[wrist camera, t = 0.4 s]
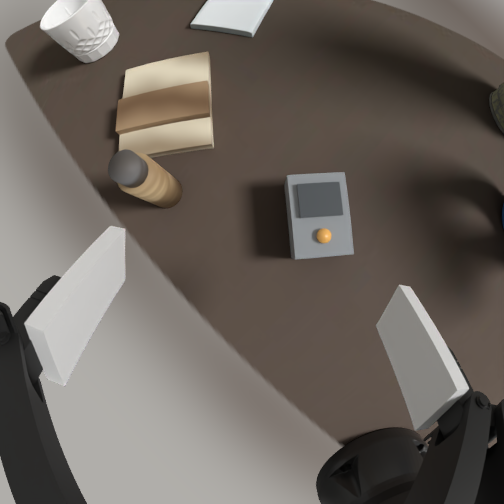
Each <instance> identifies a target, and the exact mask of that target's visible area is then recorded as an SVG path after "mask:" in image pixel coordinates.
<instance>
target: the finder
mask: <svg viewBox="0 0 504 504" xmlns="http://www.w3.org/2000/svg"><path fill="white" fill-rule="evenodd" d="M284 188H285V197H286V207H287V217H288V228H289V239H290V250H291V259H306V258H317V257H328V256H339V255H349V254H354V251H353V239H352V229H351V219H350V210H349V202H348V194H347V186H346V179H345V172H338V173H316V174H299V175H287V177H286V181H285V185H284Z"/></svg>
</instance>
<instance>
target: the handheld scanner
mask: <svg viewBox="0 0 504 504" xmlns="http://www.w3.org/2000/svg"><path fill="white" fill-rule="evenodd" d="M502 223H503V228H504V204H503V208H502Z"/></svg>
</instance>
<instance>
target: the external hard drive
mask: <svg viewBox="0 0 504 504" xmlns="http://www.w3.org/2000/svg"><path fill="white" fill-rule="evenodd" d="M272 2H273V0H208V1H207V2H206V3H205V4H204V6H203V7H202V8H201V10H200V11H199V13H198V14H197V15H196V17H195V18H194V20H193V21H192V23H191V24H190V26H191V28H192V29H202V30H210V31H217V32H224V33H231V34H236V35H242V36H247V37H253V36H254V34H255V32H256V30H257V29H258V27H259V25H260V23H261V21H262V20H263V18H264V16H265V14H266V12H267V11H268V9H269V7H270V6H271V4H272Z"/></svg>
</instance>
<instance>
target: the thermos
mask: <svg viewBox="0 0 504 504" xmlns="http://www.w3.org/2000/svg"><path fill="white" fill-rule="evenodd" d="M489 105H490V109H491V113H492V115H493V117H494V120H495V122H496V124H497V125H498V127H499V128H500V130H501V131H502V133H503V134H504V83H502V84H501V85H500V86H499V88H498V89H497V90H495V91H493V92H492V93H491V94H490V97H489Z"/></svg>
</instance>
